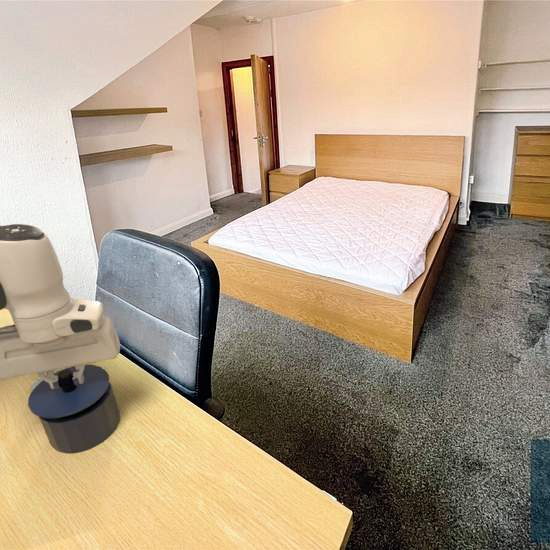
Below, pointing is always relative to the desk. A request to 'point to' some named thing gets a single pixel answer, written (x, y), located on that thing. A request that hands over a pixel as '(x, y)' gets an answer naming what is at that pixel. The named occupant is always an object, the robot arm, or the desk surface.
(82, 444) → the pot
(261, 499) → the desk surface
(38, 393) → the lid
